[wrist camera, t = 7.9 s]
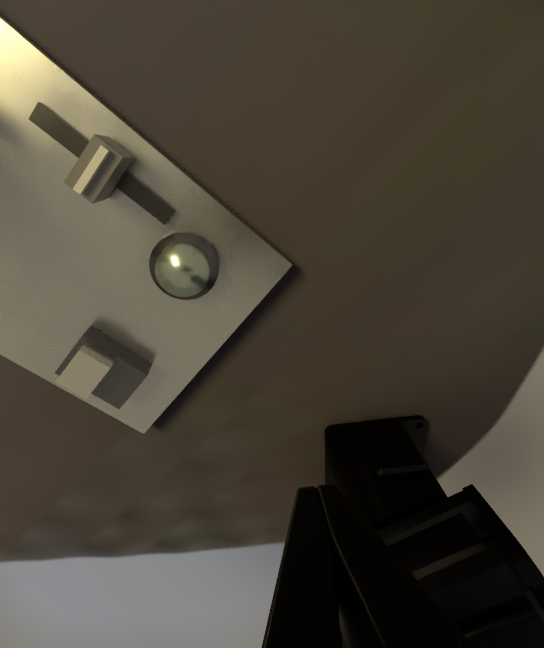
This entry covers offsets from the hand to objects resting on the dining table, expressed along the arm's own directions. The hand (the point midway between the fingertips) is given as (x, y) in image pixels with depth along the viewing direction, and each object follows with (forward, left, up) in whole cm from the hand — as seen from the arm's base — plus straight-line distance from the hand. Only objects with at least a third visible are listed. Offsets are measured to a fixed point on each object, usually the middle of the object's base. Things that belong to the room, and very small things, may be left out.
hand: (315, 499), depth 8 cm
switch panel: (+4, +10, -13) cm, 17 cm away
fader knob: (+7, +6, -12) cm, 15 cm away
